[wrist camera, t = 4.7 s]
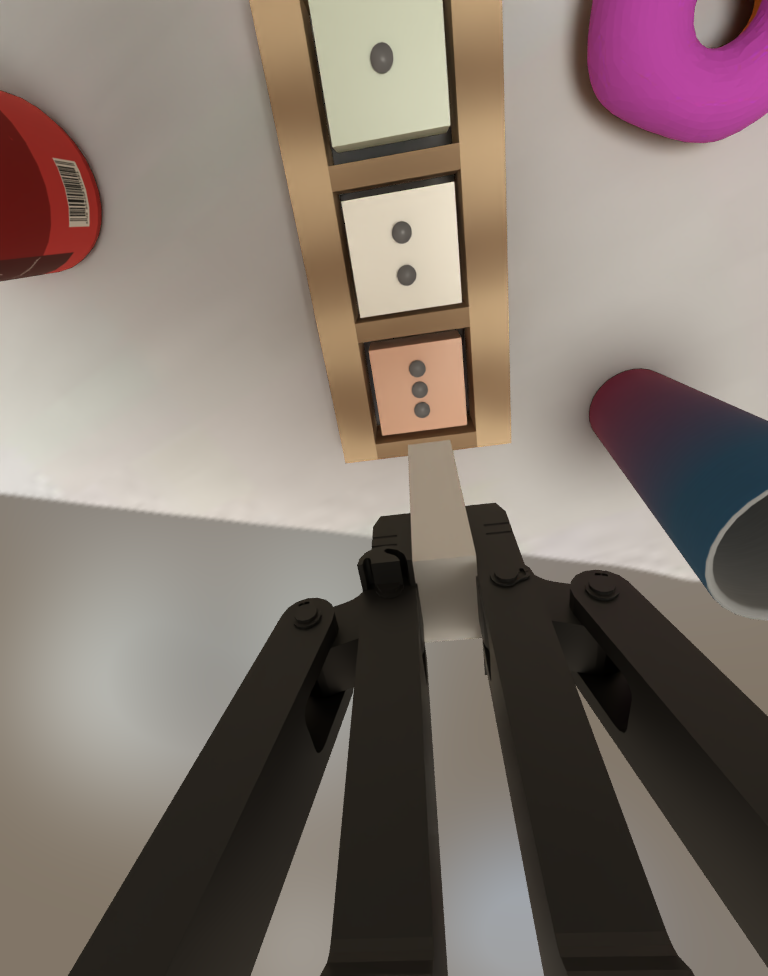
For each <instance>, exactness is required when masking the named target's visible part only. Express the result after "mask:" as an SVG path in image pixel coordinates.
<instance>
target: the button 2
mask: <svg viewBox="0 0 768 976" xmlns="http://www.w3.org/2000/svg"><path fill="white" fill-rule="evenodd" d="M341 202H342V208H343V214H344V221H345V227H346V233H347V239H348V245H349V251H350V257H351V263H352V269H353V275H354V281H355V287H356V293H357V299H358V306H359V312H360V318H364V317H370V316H377V315H383V314H390V313H397V312H403V311H410V310H416V309H423V308H430V307H436V306H443V305H449V304H456V303H462V295H461V279H460V264H459V249H458V233H457V218H456V202H455V187H454V182H450V183H444V184H438V185H432V186H427V187H421V188H415V189H410V190H404V191H398V192H393V193H387V194H381V195H375V196H370V197H364V198H358V199H353V200H347V201H341Z"/></svg>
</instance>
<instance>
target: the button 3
mask: <svg viewBox="0 0 768 976" xmlns="http://www.w3.org/2000/svg"><path fill="white" fill-rule="evenodd" d="M369 356H370V362H371V368H372V374H373V381H374V387H375V393H376V399H377V405H378V412H379V418H380V424H381V430H382V436H384V435H391V434H399V433H407V432H415V431H423V430H431V429H438V428H446V427H454V426H462V425H467V415H466V400H465V385H464V371H463V356H462V341H461V336H460V334H459V333H458V331H457V330H452V331H445V332H439V333H432V334H425V335H418V336H411V337H404V338H398V339H391V340H384V341H377V342H371V343H370V348H369Z"/></svg>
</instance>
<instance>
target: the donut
mask: <svg viewBox="0 0 768 976" xmlns="http://www.w3.org/2000/svg"><path fill="white" fill-rule="evenodd" d="M696 2H697V0H593V3H592V9H591V16H590V23H589V32H588V54H587V65H588V71H589V77H590V82H591V85H592V88H593V91H594V93H595V95H596V97H597V99H598V100H599V101H600V103H601V104H602V105H603V106H604V107H605V108H606V109H607V110H608V111H610V112H611V113H612V114H614V115H615V116H617V117H619V118H620V119H622V120H624V121H626V122H628V123H630V124H633V125H635V126H637V127H639V128H642V129H644V130H646V131H649V132H652V133H655V134H658V135H661V136H664V137H667V138H670V139H674V140H679V141H683V142H694V143H707V142H715V141H718V140H721V139H724V138H726V137H728V136H731V135H733V134H735V133H737V132H739V131H741V130H742V129H744V128H746V127H747V126H749V125H750V124H752V123H754V122H755V121H757V120H758V119H760V118H761V117H762V116H764V115H765V114H766V113H768V0H755V2H754V8H753V11H752V15H751V17H750V19H749V21H748V23H747V25H746V27H745V28H744V29H743V31H742V32H741V33H740V34H739V36H738V37H737V38H736V39H735V40H733V41H731V42H730V43H728V44H726V45H724V46H722V47H719V48H714V49H713V48H706V47H705V46H703V45H702V44H701V43H700V42H699V40H698V39H697V38H696V34H695V29H694V25H693V22H694V10H695V5H696Z"/></svg>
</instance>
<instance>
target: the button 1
mask: <svg viewBox="0 0 768 976" xmlns="http://www.w3.org/2000/svg"><path fill="white" fill-rule="evenodd" d="M308 2H309V8H310V14H311V20H312V26H313V32H314V38H315V44H316V50H317V56H318V63H319V69H320V75H321V81H322V87H323V93H324V99H325V105H326V111H327V117H328V123H329V129H330V135H331V142H332V147H333V148H334V149H335V151H336V152H337V153H341V152H347V151H352V150H358V149H363V148H368V147H374V146H379V145H385V144H390V143H395V142H401V141H406V140H412V139H417V138H422V137H428V136H433V135H439V134H444V133H446V132H447V130H448V129H449V127H450V110H449V95H448V79H447V64H446V49H445V33H444V18H443V2H442V0H308Z"/></svg>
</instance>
